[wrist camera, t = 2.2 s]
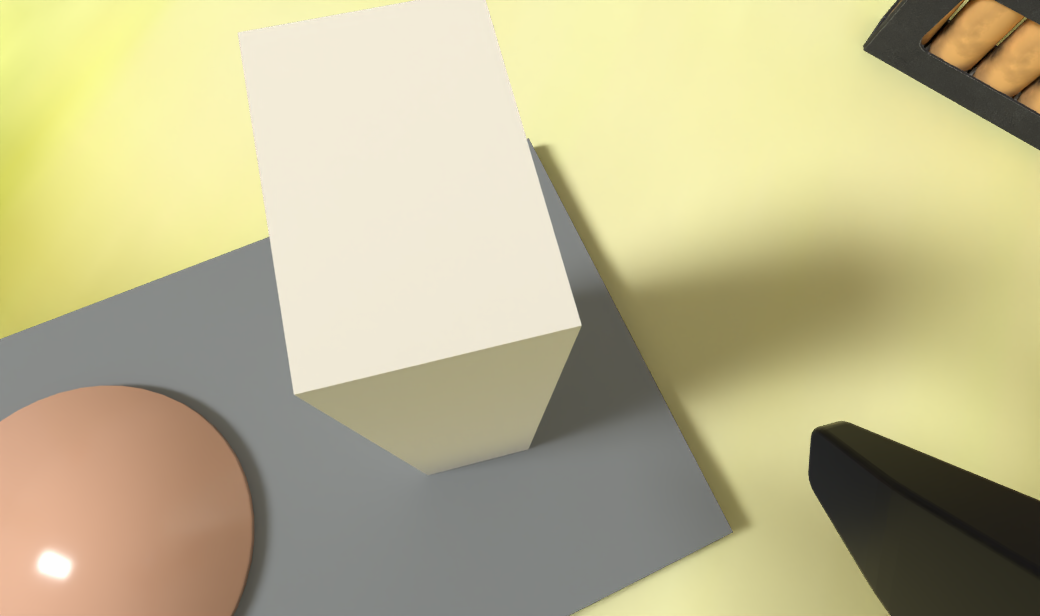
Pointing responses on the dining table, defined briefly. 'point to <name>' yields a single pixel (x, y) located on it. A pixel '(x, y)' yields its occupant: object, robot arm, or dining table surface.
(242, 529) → the pink disc
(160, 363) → the rubber mat
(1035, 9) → the ammunition clip
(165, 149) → the dining table surface
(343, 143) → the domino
